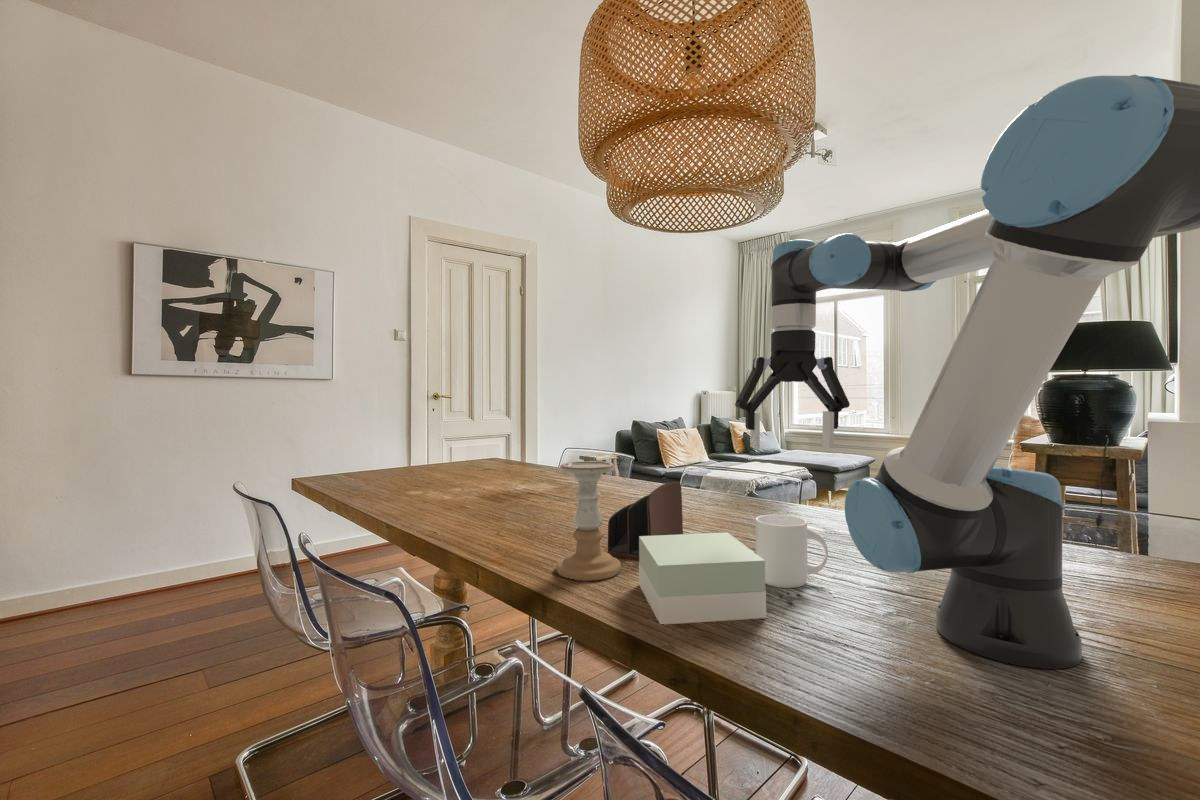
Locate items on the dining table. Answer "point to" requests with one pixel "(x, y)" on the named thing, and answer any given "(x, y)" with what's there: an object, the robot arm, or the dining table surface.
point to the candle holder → (588, 527)
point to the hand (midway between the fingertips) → (791, 447)
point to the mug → (786, 550)
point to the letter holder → (646, 520)
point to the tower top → (700, 564)
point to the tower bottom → (703, 605)
